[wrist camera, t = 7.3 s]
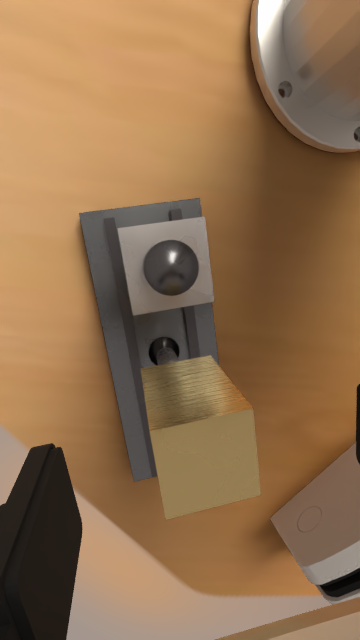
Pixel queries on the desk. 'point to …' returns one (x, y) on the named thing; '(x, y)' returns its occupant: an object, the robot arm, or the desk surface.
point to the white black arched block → (327, 529)
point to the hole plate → (142, 320)
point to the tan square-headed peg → (199, 435)
